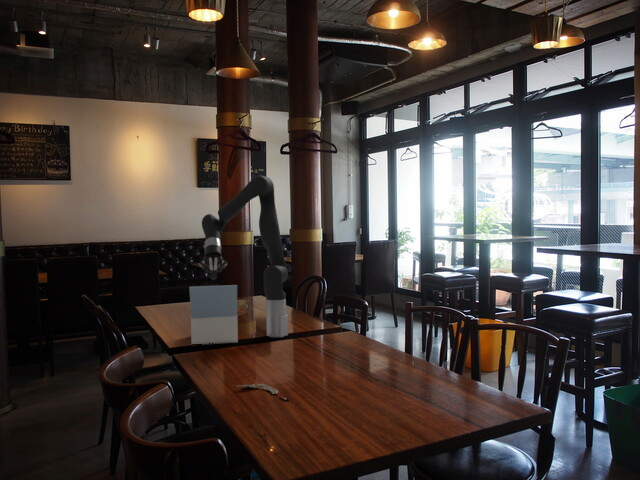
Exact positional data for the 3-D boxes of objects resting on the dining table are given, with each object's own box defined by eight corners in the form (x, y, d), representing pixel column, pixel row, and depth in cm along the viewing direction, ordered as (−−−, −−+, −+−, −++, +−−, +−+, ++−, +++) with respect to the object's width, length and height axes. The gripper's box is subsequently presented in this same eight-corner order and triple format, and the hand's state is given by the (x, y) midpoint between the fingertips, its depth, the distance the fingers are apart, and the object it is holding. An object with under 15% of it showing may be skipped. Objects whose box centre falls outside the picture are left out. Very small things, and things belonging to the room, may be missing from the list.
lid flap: (189, 286, 208) (189, 287, 208) (237, 284, 212) (237, 285, 212) (191, 317, 219) (191, 318, 218) (236, 315, 223) (236, 316, 222)
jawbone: (252, 385, 169) (253, 379, 169) (303, 397, 159) (304, 390, 159) (235, 391, 162) (235, 384, 162) (287, 403, 151) (288, 396, 151)
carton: (193, 335, 237) (192, 310, 236) (236, 333, 241) (235, 308, 240) (191, 345, 219) (190, 317, 219) (237, 342, 223) (237, 315, 223)
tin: (230, 317, 279) (230, 302, 279) (226, 316, 281) (226, 302, 281) (249, 313, 291) (249, 298, 291) (245, 312, 293) (245, 298, 292)
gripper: (198, 244, 228) (197, 274, 217) (227, 243, 231) (228, 273, 220) (198, 255, 234) (198, 284, 222) (227, 254, 236) (228, 283, 225)
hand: (213, 278), depth 221 cm, fingers closed
